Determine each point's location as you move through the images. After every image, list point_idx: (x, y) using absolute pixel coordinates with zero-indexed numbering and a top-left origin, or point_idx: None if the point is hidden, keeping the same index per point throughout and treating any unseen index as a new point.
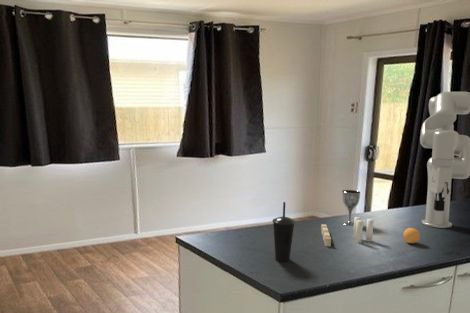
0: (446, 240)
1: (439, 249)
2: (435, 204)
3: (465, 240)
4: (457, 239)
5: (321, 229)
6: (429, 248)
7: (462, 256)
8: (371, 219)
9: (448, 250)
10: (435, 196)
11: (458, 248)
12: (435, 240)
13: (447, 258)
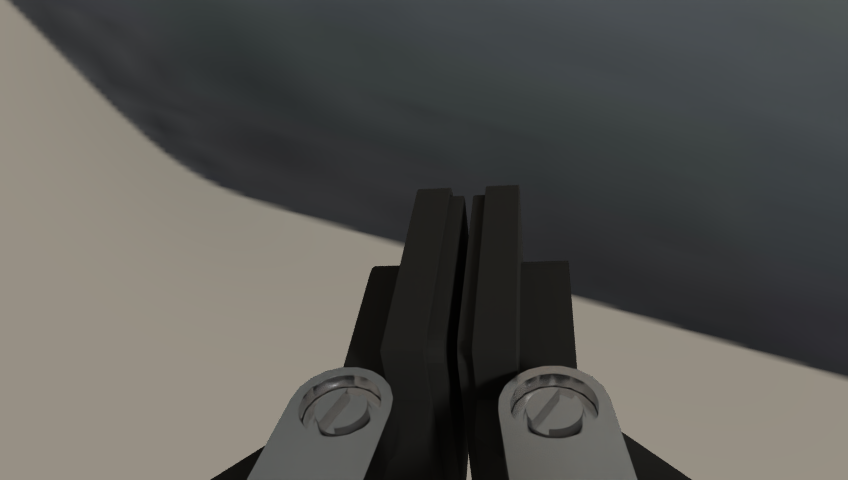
0: (718, 176)
1: (341, 3)
2: (413, 268)
3: (737, 346)
4: (768, 291)
5: None
6: None
7: (197, 163)
8: None
9: (339, 91)
10: (508, 453)
11: None
12: (705, 52)
13: (61, 5)
